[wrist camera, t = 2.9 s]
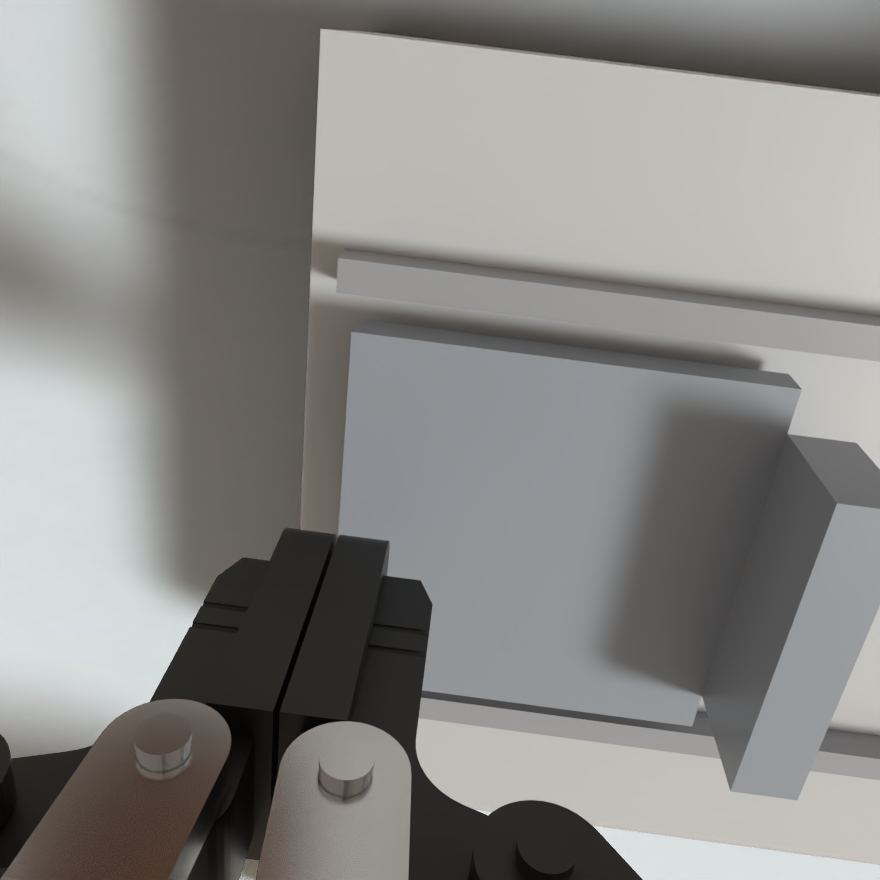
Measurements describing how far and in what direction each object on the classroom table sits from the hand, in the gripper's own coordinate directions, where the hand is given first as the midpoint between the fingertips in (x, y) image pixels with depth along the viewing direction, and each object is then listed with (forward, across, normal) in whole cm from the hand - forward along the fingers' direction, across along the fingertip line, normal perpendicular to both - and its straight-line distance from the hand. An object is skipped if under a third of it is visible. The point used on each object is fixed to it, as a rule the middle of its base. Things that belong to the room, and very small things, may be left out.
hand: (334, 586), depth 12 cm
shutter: (+2, -3, 0) cm, 4 cm away
